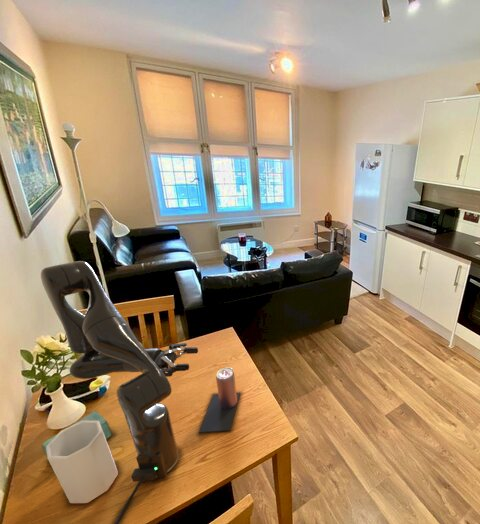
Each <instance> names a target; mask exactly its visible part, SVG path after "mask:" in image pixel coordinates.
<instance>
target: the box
mask: <svg viewBox="0 0 480 524" xmlns="http://www.w3.org/2000/svg"><path fill="white" fill-rule="evenodd" d="M80 421H99V422H100V425H101V428H102V430H103V433H104V436H105V438H106V440H107V439H109V438H110V437H112V436H113V432H112V430H111V428H110V425H109V423H108V421H107V419H106V418H105V417H103V415H101V414H100V413H98V411H97V410H94V411H92V412H91V413H89V414H87V415H85V416H84V417H82V418H80V419H79V420H78V421H76V422H74V423H73V424H71V425H69V426H68V427H70V426H72V425H74V424H76V423H78V422H80ZM56 436H57V434H55V435H53V436H51V438H49V439H47V440H46V441H44V442H43V443H42V445H41V448H42V451H43V454H44V455H45V457H46V458H47V451H46V446H47V445H48V444H49V443H50V442H51V441H52V440H53V439H54V438H55V437H56Z"/></svg>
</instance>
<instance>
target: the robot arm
mask: <svg viewBox="0 0 480 524" xmlns="http://www.w3.org/2000/svg"><path fill="white" fill-rule="evenodd" d="M40 279H41V284H42V286H43V289H44V292H45V293H46V295H47V298H48V299H49V302H50V303H51V306H52V308H53V310H54V312H55V314H56V316H57V317H58V319H59V321H60V323H61V325H62V326H63V330H64V333H65V336H66V340H67V343H68V346H69V349H70V350H71V352H72V353H75V354H80V355H79V357H78V358H77V359H76V360H74V361H73V362H72V363H71V365H70V366H69V374H70V375H71V376H72V377H74V378H76V379H79V380H90V379H96V378H98V377H103V376H107V375H110V374H113V373H141V374H139V375H137V376H135V377H133V378H132V379H130V380H127V381H126V382H124V383H122V384H120V385H119V386H118V388H117V389H116V397H117V401H118V404H119V406H120V408H121V411H122V413H123V415H124V418H125V421H126V424H127V426H128V429H129V433H130V435H131V439H132V442H133V445H134V447H135V451H136V454H137V456H136V458H135V459H136V463H137V465H138V468H137V467H136V468H134V470H133V472H132V474H131V475H130V477H131V480H132V482H133V483H134V482H137V484H136V486H135V487H134V489H133V491H132V492H131V494H130V495H129V497H128V499H127V501H126V503H125V504H124V506H123V508H122V509H121V511H120V513H119V515H118V517H117V518H116V520H115V522H113V524H119V522H120V521H121V519H122V517H123V515H124V514H125V512H126V511H127V508H128V507H129V505H130V504H131V501H132V500H133V498H134V496H135V495H136V493H137V491H138V490H139V488H140V486H141V485H142V483H143V482H146V481H147V482H148V481H154V480H155V479H161V478H162V479H163V478H166V477H167V475H168V474H169V473H170V472H171V471H172V470H173V469H174V468H175V466H176V465H177V464H178V461H179V459H180V452H179V449H178V445H177V441H176V436H175V433H174V429H173V425H172V420H171V416H170V411H169V408H168V407H167V406H166V405H165V404H163V403H161V402H163V401H164V400H166V399H167V398H168V397H170V396H171V394H172V385H171V383H170V380H169V379H168V377H169V378H170V377H173V375H174V373H177V372H185V371H189V369H190V364H189V363H177V364H175V362H176V361H177V359H179V358H181V357H182V356H184V355H186V354H187V355H189V354H190V355H191V354H198V353H199V348H198V347H196V346H188V345H187V344H188V343H186V342H181V343H171V344H168V348H167V349H166V350H162V349H160V348H144V347H143V345H142V344H141V343H140V342H139V341H140V340H139V339H138V338H137V336H136V335H135V333H134V331H133V330H132V328H131V326H130V325H129V324H128V322H127V321H126V319H125V318H124V317H123V315H122V314H121V313H120V311H119V310H118V308H117V307H116V306H115V304H114V303H113V301H112V300H111V298H110V297H109V295H108V294H107V292H106V290H105V289H104V287H103V284H102V283H101V281H100V279H99V277H98V275H97V274H96V273H95V270H94V269H93V267H92V266H91V265H90V264H89V263H88V262H86V261H84V260H78V261H71V262H66V263H60V264H55V265H51V266H47V267H44V268H43V269H42V270H41V272H40ZM82 292H87V293H88V295H89V300H88V305H87V309H86V312H85V314H84V313H82V312H80V311H79V310H77V309H76V308H75V307H73V306H72V305H70V303H69V302H68V301H67V299H66V296H67V297H68V296H71V295H73V294H77V293H78V294H79V293H82Z"/></svg>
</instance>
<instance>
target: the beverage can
mask: <svg viewBox="0 0 480 524" xmlns="http://www.w3.org/2000/svg"><path fill="white" fill-rule="evenodd" d="M215 379H216V380H215V381H216V385H217V394H219V401H220V406H221V408H223V409H230V408H232V407H234V406H235V404H236V403H237V395H236V393H237V388H236V376H235V371H234V369H233V368H232V367H228V366H226V367H223V368H221V369H219V370H218V371H217V372H216V375H215Z"/></svg>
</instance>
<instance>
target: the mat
mask: <svg viewBox="0 0 480 524" xmlns="http://www.w3.org/2000/svg"><path fill="white" fill-rule="evenodd" d="M236 395H237V403H236V404H235V406H234V407H232V408H230V409H223V408H221V406H220V401H219V394H218V393H212V397H211V399H210V402H209V405H208V408H207V410H206V413H205V415H204V418H203V421H202V424H201V426H200V429H199V434H206V433H208V434H209V433H223V432H231V430H232V427H233V422H234V419H235V415H236V411H237V407H238V403H239V400H240V396H241V392H236Z"/></svg>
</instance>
